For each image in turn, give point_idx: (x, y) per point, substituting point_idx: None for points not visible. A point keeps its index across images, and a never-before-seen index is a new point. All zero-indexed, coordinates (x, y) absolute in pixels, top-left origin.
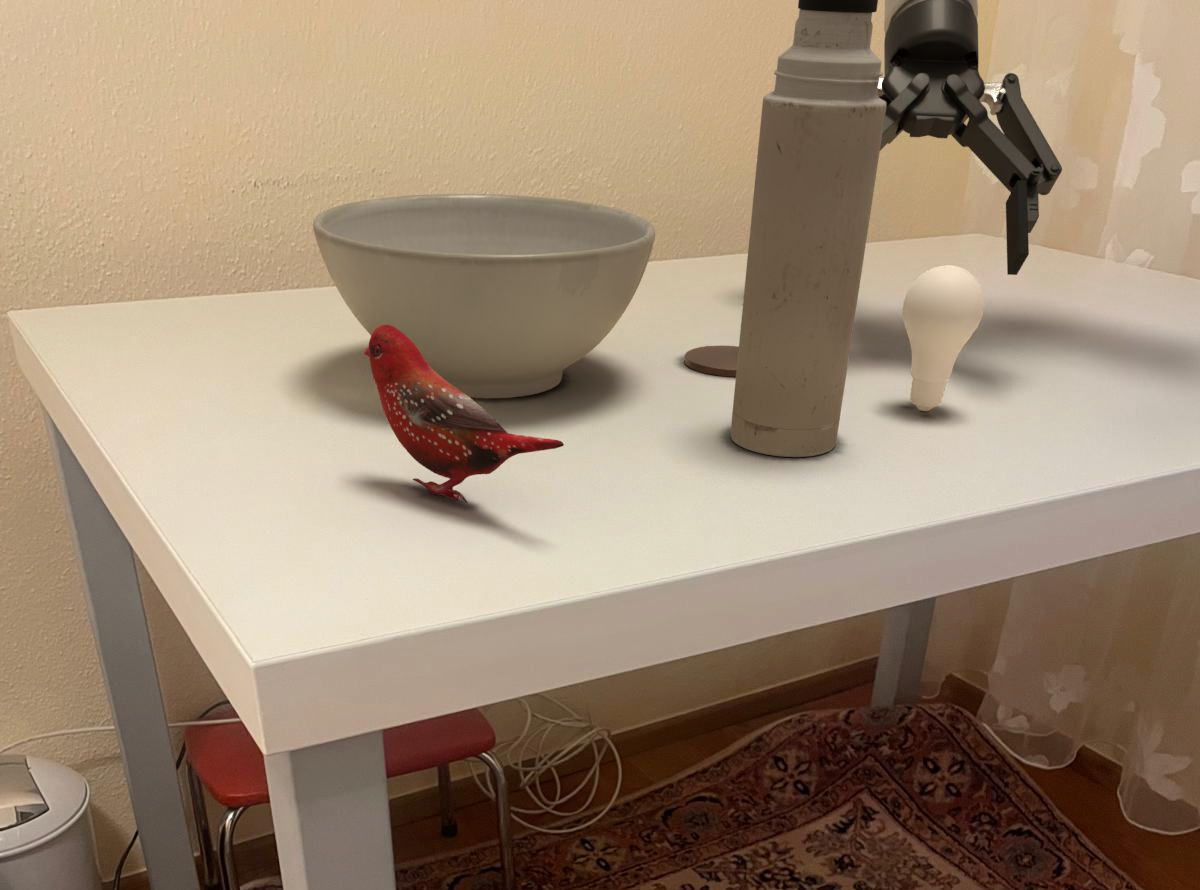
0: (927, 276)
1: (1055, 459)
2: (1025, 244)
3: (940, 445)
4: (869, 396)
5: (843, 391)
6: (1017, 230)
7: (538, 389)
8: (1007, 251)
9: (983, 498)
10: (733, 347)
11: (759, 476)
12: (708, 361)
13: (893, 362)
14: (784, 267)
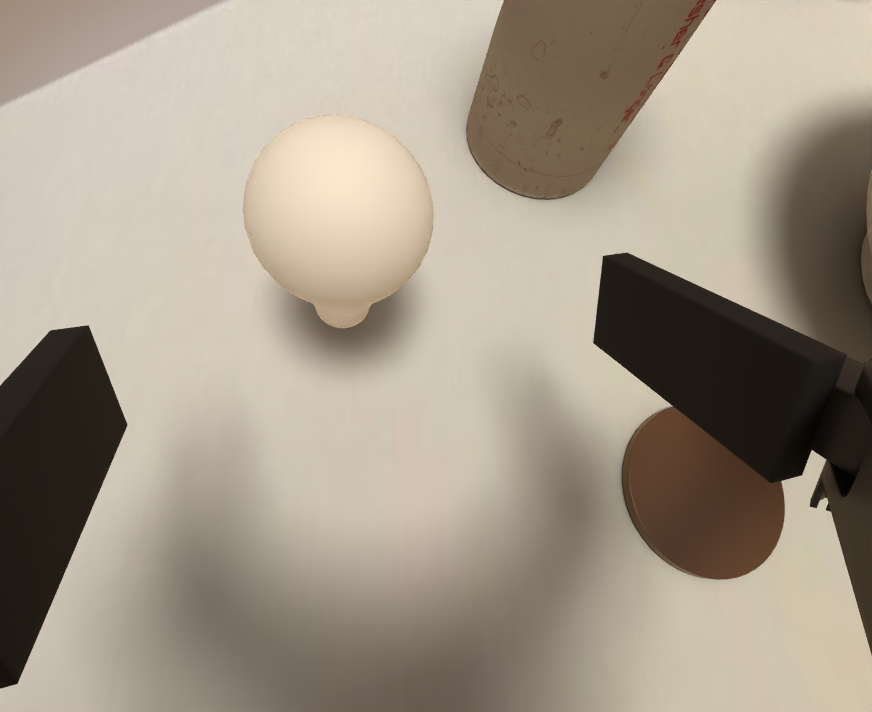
0: (397, 149)
1: (152, 136)
2: (48, 347)
3: None
4: (436, 367)
5: (484, 67)
6: (56, 387)
7: (867, 237)
8: (103, 472)
9: (282, 4)
10: (724, 565)
11: None
12: None
13: (399, 644)
14: None
